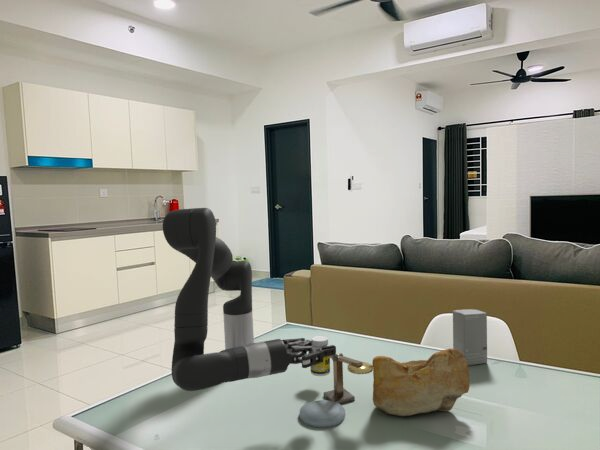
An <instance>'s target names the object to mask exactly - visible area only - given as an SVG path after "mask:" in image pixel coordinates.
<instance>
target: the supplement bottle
mask: <svg viewBox="0 0 600 450" xmlns="http://www.w3.org/2000/svg"><path fill="white" fill-rule="evenodd" d="M311 341H312V342H311V343H312V346H311V347H312V348H318V347H320V348H321V347H325V346H329V338H328V337H327V336H323V335H321V336H320V335H319V336H318V335H317V336H316V335H315V336H312V338H311ZM314 352H316V351H314ZM312 353H313V352H312ZM310 373H311V375H312V376H315V377H316V376H317V377H325V376H328V375H330V373H331V358H330V356H326V357H323V362H322V363H319V364H316V365H313V366H310Z"/></svg>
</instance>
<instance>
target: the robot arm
mask: <svg viewBox="0 0 600 450" xmlns="http://www.w3.org/2000/svg"><path fill="white" fill-rule="evenodd" d="M162 233H163V236H164V239H165V240H166V242H167V244H168V245H169V246H170V247H171V248H172V249H174V250H175V251H176V252H178V253H181V254H183V255H185V256H186V257H188V258H189V259H190V260H191V261H192V262H194V263H195V265H194V267H193V269H192V270H191V273H190V274H189V277H188V278H187V280H186V282H185V283H184V284H183V286H182V289H181V290H180V291H179V293H178V296H177V298H176V302H175V306H174V324H173V325H174V329H173V330H174V331H173V333H174V342H173V350H172V358H171V359H172V361H171V378H172V381H173V383H174V384H175V385H176V387H178V388H180V389H182V390H183V391H187V392H197V391H201V390H205V389H208V388H212V387H216V386H218V385H221V384H224V383H231V382H236V381H241V380H246V379H247V380H248V379H256V378H263V377H267V376H272V375H277V374H283V373H285V372H286V371H287V370H288V367H289V366H290V365H301V368H303V369H308V368H309V367H310V368H311V366H313V365H316V364H319V363H322V362H323V357H326V356H332V355H335V354H337V346H336V345H335V344H331V345H328V346H325V347H321V348H320V347H318V348H312V347H311V346H312V343H311V342H312V340H311V339H306V338H305V337H304V338H303V337H301V338H289V339H288V338H287V339H281V338H276V339H269V340H264V341H257V342H255V341H254V339H255V337H254V321H253V320H254V319H253V318H254V317H253V272H252V271H253V269H252V266H251V264H250V262H249V261H245V260H243V261H242V260H241V261H239V260H237V261H234V260H233V259H234V257H233V254H232V251H231V249H230V247H229V246H228V245H227V243H226V242H225V241H223V240H222V239H221V238H219V237H217V222H216V218H215V215H214V213H213V211H212V210H211V209H210V208H208V207H195V208H192V207H191V208H180V209H179V208H178V209H175V210H172V211H169V212H168V213H167V214H166V215H165V216H164V218H163V220H162ZM211 278H212V280H213V281H214V283H215V284H216V286H217V287H218V288H219V289H220V290H222V291H226V292H227V291H228V292H229V291H230V292H231V291H233V292H235V291H236V292H237V291H239V292H240V294H239V295H238V296H237V297H235V298H233V299H230V300H227V301H226V302H224V303H223V304H222V309H223V310H222V311H223V312H222V313H223V315H222V316H223V326H224V327H223V333H224V349H222V350H220V351H218V352H210V353H205V341H206V339H207V336H208V328H209V327H208V326H209V325H208V324H209V321H208V318H209V315H208V314H209V312H208V310H209V307H208V305H209V293H210V285H211ZM314 351H316V352H314ZM307 352H308V353H309V354H308V353H307ZM312 352H313V353H312Z"/></svg>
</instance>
